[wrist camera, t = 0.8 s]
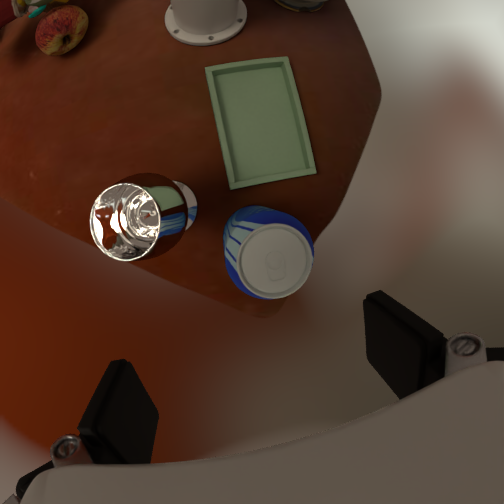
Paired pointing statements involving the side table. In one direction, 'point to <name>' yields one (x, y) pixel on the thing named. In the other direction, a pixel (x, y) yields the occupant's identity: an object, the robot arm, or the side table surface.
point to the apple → (61, 29)
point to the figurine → (53, 5)
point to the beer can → (267, 252)
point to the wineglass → (142, 216)
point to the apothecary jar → (301, 5)
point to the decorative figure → (20, 9)
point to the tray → (259, 121)
